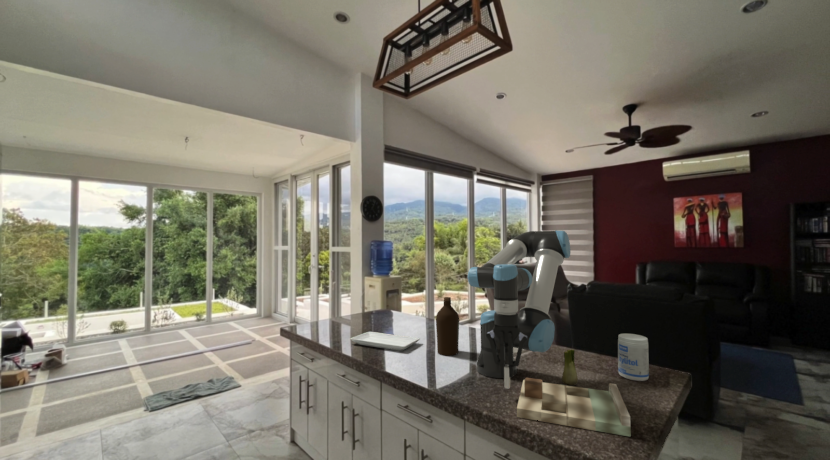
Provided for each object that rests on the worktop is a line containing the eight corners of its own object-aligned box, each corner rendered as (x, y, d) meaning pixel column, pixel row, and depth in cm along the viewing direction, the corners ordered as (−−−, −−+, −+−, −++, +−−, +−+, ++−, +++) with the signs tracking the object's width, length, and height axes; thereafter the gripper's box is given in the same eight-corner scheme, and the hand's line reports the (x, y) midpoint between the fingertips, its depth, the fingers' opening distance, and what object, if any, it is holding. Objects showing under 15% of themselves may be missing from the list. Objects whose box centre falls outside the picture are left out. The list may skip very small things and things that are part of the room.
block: (524, 396, 106) (524, 383, 106) (526, 390, 111) (525, 377, 111) (542, 399, 104) (541, 385, 104) (542, 392, 109) (542, 379, 109)
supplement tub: (616, 377, 127) (614, 337, 127) (621, 370, 134) (619, 331, 135) (647, 384, 121) (646, 341, 121) (651, 376, 128) (649, 335, 128)
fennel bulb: (573, 381, 124) (572, 347, 124) (582, 386, 119) (581, 351, 119) (558, 382, 123) (557, 348, 123) (566, 388, 118) (566, 352, 118)
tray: (368, 337, 186) (368, 330, 186) (420, 344, 171) (420, 337, 171) (348, 345, 171) (348, 338, 171) (404, 354, 156) (404, 346, 156)
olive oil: (440, 357, 151) (439, 299, 152) (433, 350, 161) (432, 296, 162) (463, 355, 153) (462, 298, 154) (455, 348, 163) (454, 295, 164)
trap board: (517, 417, 99) (516, 399, 99) (523, 387, 119) (523, 372, 119) (630, 436, 88) (630, 416, 88) (616, 400, 108) (616, 384, 109)
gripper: (483, 313, 110) (484, 388, 109) (526, 316, 105) (527, 394, 104) (487, 309, 117) (488, 379, 116) (528, 311, 112) (529, 385, 111)
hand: (507, 386), depth 110 cm, fingers closed
